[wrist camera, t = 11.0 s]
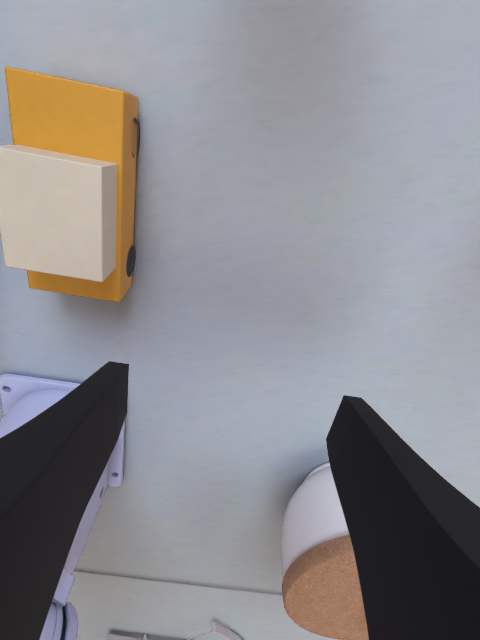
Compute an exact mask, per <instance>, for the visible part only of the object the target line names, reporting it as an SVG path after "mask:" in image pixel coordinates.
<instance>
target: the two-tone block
mask: <svg viewBox="0 0 480 640" xmlns="http://www.w3.org/2000/svg"><path fill="white" fill-rule="evenodd" d="M5 73H6V82H7V91H8V100H9V109H10V119H11V128H12V137H13V145H0V232H1V239H2V246H3V253H4V260H5V266H6V267H12V268H18V269H24V270H27V272H28V281H29V287H30V288H33V289H39V290H45V291H52V292H58V293H64V294H71V295H77V296H83V297H90V298H96V299H102V300H109V301H115V302H120V301H121V299H122V298H123V297H124V295H125V294H126V293H127V291H128V290H129V289H130V287H131V286H132V272H133V269H134V264H135V247H134V245H133V233H134V206H135V178H136V156H137V153H138V149H139V143H140V127H139V121H138V97H136V96H134V95H132V94H129V93H127V92H125V91H122V90H118V89H113V88H108V87H103V86H98V85H93V84H89V83H84V82H79V81H74V80H69V79H65V78H60V77H55V76H50V75H45V74H40V73H36V72H31V71H26V70H21V69H16V68H11V67H5Z"/></svg>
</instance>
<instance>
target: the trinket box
mask: <svg viewBox="0 0 480 640" xmlns="http://www.w3.org/2000/svg"><path fill="white" fill-rule="evenodd" d="M281 561H282V573H283V583H282V593H283V602H284V608H285V610H286V612H287V614H288V615H289V617H290V618H291V619H292V620H293V621H294V622H295V623H296V624H298V625H299V626H300V627H302V628H304V629H305V630H307V631H309V632H312V633H315V634H317V635H320V636H324V637H328V638H334V639H340V640H369V637H368V630H367V623H366V617H365V611H364V605H363V599H362V593H361V587H360V582H359V576H358V571H357V566H356V560H355V555H354V550H353V546H352V542H351V538H350V535H349V531H348V528H347V524H346V521H345V517H344V514H343V510H342V507H341V503H340V500H339V497H338V493H337V490H336V486H335V482H334V479H333V475H332V472H331V468H330V462H328V463H325V464H323V465H321V466H318V467H317V468H315V469H314V470H312V471H311V472H310V473H309V474H308V475H307V476H306V478H305V479H304V481H303V483H302V484H301V485H300V486H299V487H298V489H297V490H296V491H295V493H294V494H293V496H292V498H291V500H290V502H289V504H288V506H287V509H286V512H285V516H284V520H283V528H282V536H281Z"/></svg>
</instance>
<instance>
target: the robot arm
mask: <svg viewBox="0 0 480 640" xmlns="http://www.w3.org/2000/svg"><path fill="white" fill-rule="evenodd" d="M128 370H129V364H124V363H117V362H108V363H107V364H105V365H104V366H103V367H101V368H100V369H99V370H98V371H96V372H95V373H94V374H93V375H92V376H90V377H89V378H88V379H87V380H85V381H84V382H83V383H81V384H80V383H73V382H65V381H58V380H51V379H44V378H37V377H29V376H22V375H15V374H3V375H1V376H0V396H1V402H2V407H3V413H4V417H3V419H2V420H1V421H0V640H77V635H78V617H77V612H76V609H75V607H74V606H73V605H72V604H71V603H70V602H67V599H68V596H69V593H70V591H71V588H72V585H73V583H74V580H75V576H74V575H72V572H73V570H74V569H75V567H76V565H77V563H78V561H79V559H80V556H81V554H82V551H83V548H84V546H85V543H86V541H87V538H88V535H89V533H90V530H91V528H92V525H93V522H94V520H95V517H96V514H97V512H98V509H99V507H100V504H101V501H102V499H103V496H104V494H105V491H106V488H107V486H108V487H119V486H121V484H122V481H123V461H124V431H125V417H126V414H127V397H128ZM7 386H8V387H9V388H8V387H7ZM326 441H327V448H328V456H329V462H330V468H331V472H332V475H333V479H334V482H335V486H336V490H337V493H338V497H339V500H340V503H341V507H342V510H343V514H344V517H345V521H346V524H347V528H348V531H349V535H350V538H351V542H352V546H353V550H354V555H355V560H356V566H357V571H358V576H359V582H360V587H361V593H362V599H363V605H364V611H365V617H366V623H367V630H368V637H369V640H480V508H479V507H478V506H477V505H475V504H474V503H473V502H472V501H470V500H469V499H468V498H467V497H465V496H464V495H463V494H462V493H461V492H459V491H458V490H457V489H456V488H454V487H453V486H452V485H451V484H450V483H448V482H447V481H446V480H445V479H444V478H443V477H442V476H440V475H439V474H438V473H437V472H436V471H435V470H434V469H433V468H432V467H430V466H429V465H428V464H427V463H426V462H425V461H424V460H423V459H422V458H421V457H420V456H419V455H418V454H417V453H416V452H415V451H413V450H412V449H411V448H410V447H409V446H408V445H407V444H406V443H405V442H404V441H403V440H402V439H401V438H400V437H399V436H398V435H397V434H396V433H395V431H394V430H393V429H392V428H391V427H390V426H389V425H388V424H387V423H386V422H385V421H384V420H383V419H382V418H381V417H380V416H379V415H378V414H377V413H376V412H375V411H374V410H373V409H372V408H371V407H370V406H369V405H368V404H367V403H366V402H365V401H364V400H363V399H362V398H358V397H351V396H345V395H344V396H343V399H342V401H341V404H340V406H339V409H338V411H337V414H336V416H335V419H334V421H333V424H332V426H331V428H330V431H329V433H328V436H327V438H326Z"/></svg>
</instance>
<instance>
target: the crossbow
mask: <svg viewBox="0 0 480 640" xmlns="http://www.w3.org/2000/svg"><path fill="white" fill-rule="evenodd" d="M212 632H213V633H216V634H218V635H220V636H223V637H225V638H226V639H228V640H242V639H241V638H240V637H239V636H238V635H236V634H235V633H233V632H232V631H230V630H229V629H227V628H225V627H223V626H221V625H219V624H217V623H216V622H212V631H211V632H208V633H205V634H202V635H199V636H196V637H193V638H197V637H200V636H203V635H206V634H209V633H212ZM193 638H190V639H193ZM190 639H187V640H190ZM107 640H136V639H134V638H130V637H124V636H118V635H112V634H108V638H107ZM143 640H146V634H144V636H143ZM149 640H150V639H149Z"/></svg>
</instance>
